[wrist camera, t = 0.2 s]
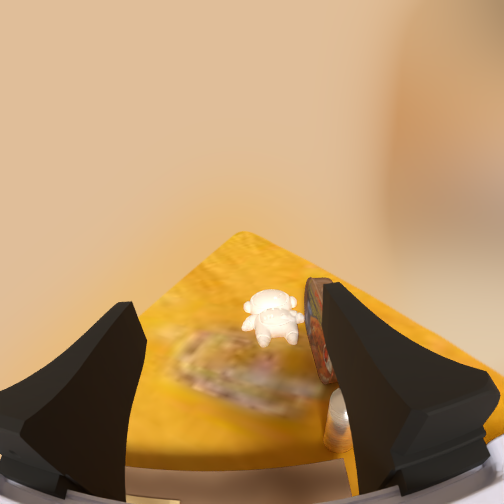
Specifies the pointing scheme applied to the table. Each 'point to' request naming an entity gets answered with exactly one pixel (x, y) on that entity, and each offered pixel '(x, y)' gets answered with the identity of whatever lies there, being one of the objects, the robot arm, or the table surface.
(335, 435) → the pin
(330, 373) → the tin
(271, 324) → the astronaut figurine
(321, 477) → the bore block
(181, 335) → the table surface
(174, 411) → the table surface
